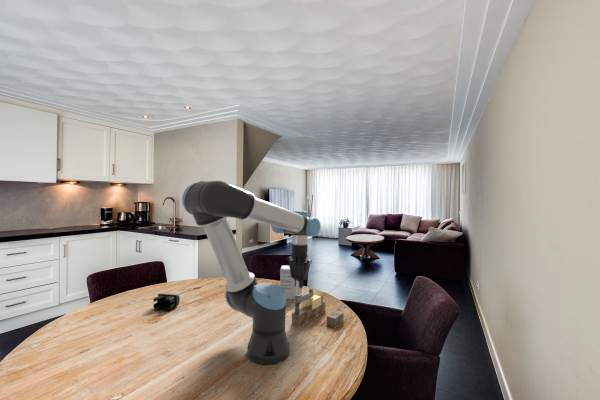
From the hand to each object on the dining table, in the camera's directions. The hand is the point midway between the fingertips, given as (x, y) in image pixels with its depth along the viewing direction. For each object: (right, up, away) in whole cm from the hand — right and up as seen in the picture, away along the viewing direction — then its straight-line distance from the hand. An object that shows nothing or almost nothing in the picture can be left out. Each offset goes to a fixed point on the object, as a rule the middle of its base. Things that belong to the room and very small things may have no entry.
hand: (298, 294), depth 130 cm
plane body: (+5, -11, 0) cm, 12 cm away
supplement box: (-6, -11, +28) cm, 30 cm away
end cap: (-66, -10, +8) cm, 67 cm away
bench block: (+16, -11, -6) cm, 21 cm away
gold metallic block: (+6, -6, +1) cm, 9 cm away
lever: (+2, -1, -4) cm, 5 cm away
